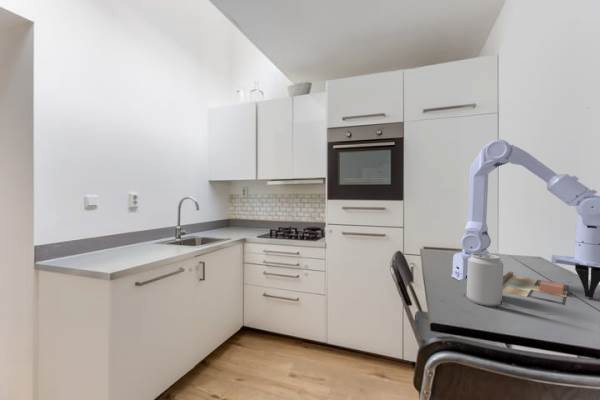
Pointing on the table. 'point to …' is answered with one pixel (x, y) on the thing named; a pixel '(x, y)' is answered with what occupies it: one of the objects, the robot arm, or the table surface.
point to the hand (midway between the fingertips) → (588, 296)
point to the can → (485, 279)
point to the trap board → (526, 287)
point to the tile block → (552, 287)
